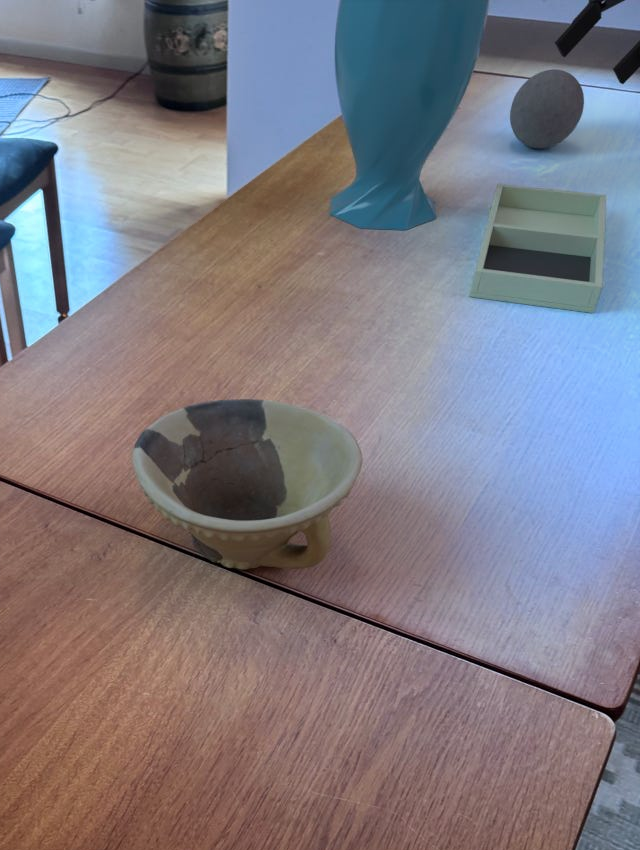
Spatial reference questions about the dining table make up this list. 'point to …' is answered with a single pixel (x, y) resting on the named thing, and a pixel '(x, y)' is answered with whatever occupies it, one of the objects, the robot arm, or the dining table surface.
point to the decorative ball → (547, 108)
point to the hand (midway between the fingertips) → (587, 63)
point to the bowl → (249, 478)
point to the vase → (400, 98)
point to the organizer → (542, 248)
